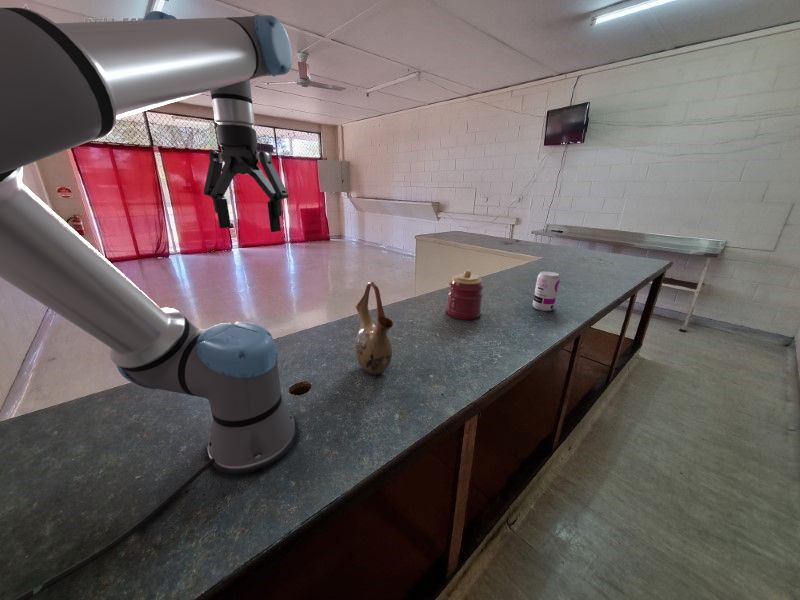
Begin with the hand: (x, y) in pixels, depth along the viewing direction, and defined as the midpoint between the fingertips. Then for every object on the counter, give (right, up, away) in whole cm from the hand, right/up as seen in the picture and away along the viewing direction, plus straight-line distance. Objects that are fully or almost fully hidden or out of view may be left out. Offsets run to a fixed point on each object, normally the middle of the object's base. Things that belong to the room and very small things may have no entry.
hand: (250, 229), depth 73 cm
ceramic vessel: (+28, -36, +12) cm, 47 cm away
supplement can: (+95, -20, +59) cm, 114 cm away
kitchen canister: (+60, -22, +51) cm, 82 cm away
